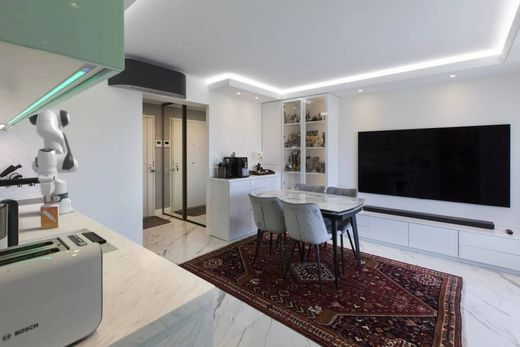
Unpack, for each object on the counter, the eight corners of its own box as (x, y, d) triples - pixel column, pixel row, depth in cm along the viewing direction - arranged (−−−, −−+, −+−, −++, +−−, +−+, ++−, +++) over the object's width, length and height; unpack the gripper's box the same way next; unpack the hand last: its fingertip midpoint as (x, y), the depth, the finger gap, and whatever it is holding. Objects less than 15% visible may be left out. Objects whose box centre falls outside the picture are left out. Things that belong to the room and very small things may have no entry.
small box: (41, 229, 149) (39, 207, 148) (42, 226, 154) (41, 205, 153) (58, 227, 153) (57, 206, 152) (59, 224, 159) (58, 203, 157)
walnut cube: (45, 202, 153) (44, 195, 153) (54, 202, 156) (54, 194, 155) (43, 204, 149) (43, 196, 149) (53, 203, 152) (53, 195, 151)
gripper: (44, 175, 158) (45, 197, 159) (37, 179, 141) (39, 204, 142) (57, 174, 161) (58, 196, 163) (52, 178, 144) (53, 203, 145)
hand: (49, 200), depth 152 cm, fingers closed on walnut cube, 4 cm apart
